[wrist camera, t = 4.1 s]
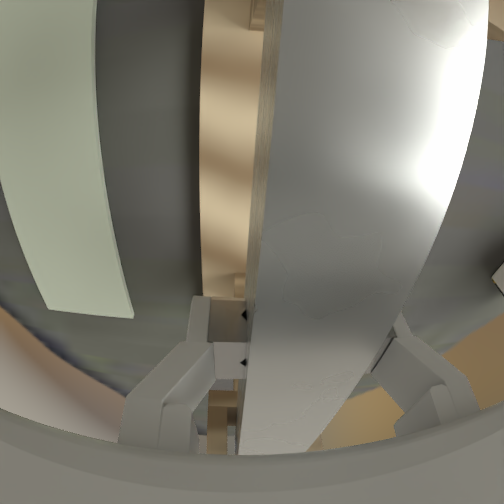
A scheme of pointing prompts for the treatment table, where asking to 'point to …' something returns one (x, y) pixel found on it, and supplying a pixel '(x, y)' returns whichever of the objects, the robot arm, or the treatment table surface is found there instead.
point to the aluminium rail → (346, 193)
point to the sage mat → (57, 155)
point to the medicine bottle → (499, 278)
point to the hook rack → (237, 162)
